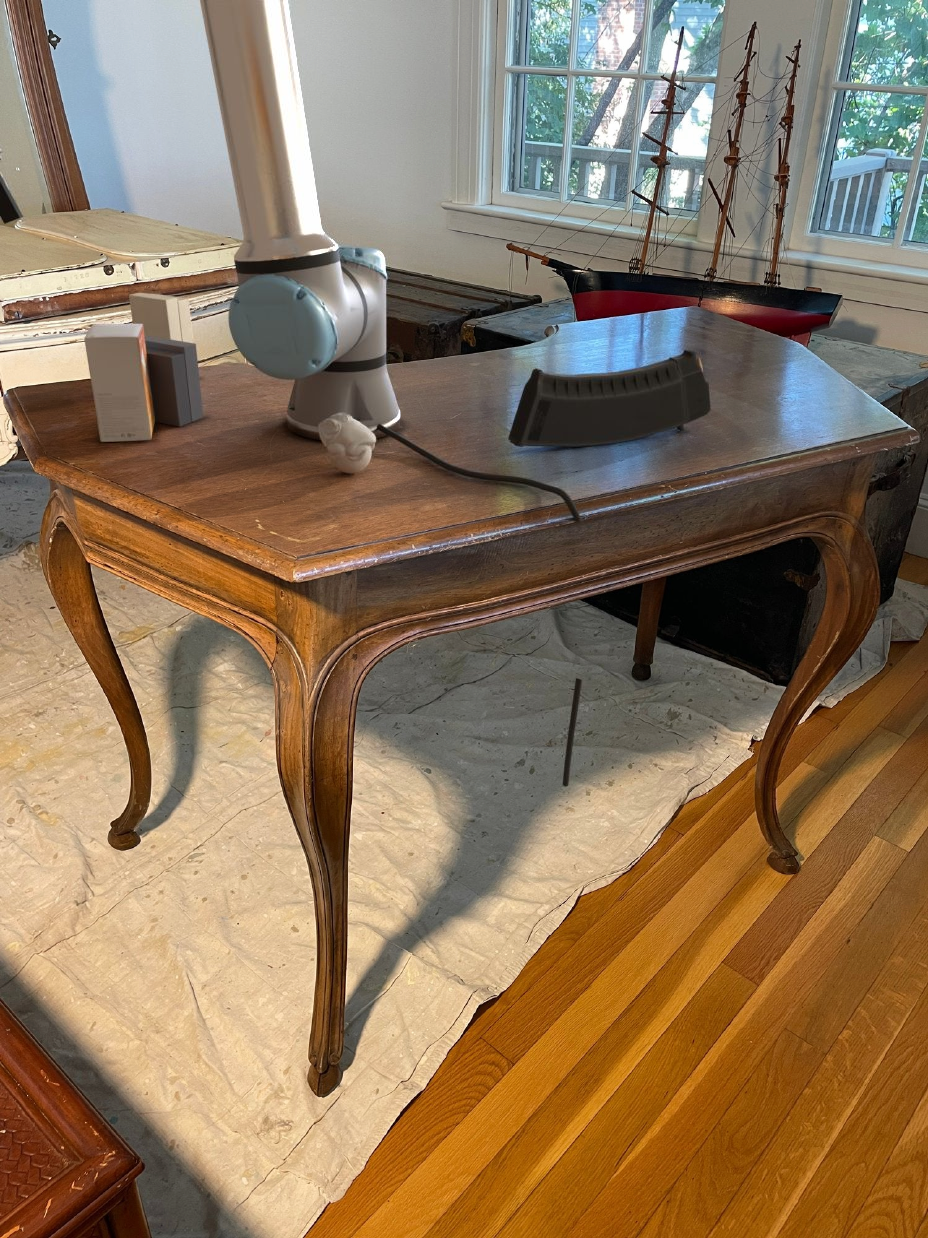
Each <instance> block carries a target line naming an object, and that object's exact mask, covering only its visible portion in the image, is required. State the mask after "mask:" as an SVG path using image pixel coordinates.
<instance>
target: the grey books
mask: <svg viewBox="0 0 928 1238" xmlns="http://www.w3.org/2000/svg"><path fill="white" fill-rule="evenodd" d="M145 345H146V353H147V361H148V369H149V377H150V385H151V393H152V400H153V408H154V415H155V423H158V424H159V423H160V424H164V425H170V426H174V427H183V426H185V425H189V424H190V423H194V422H196V421H198V420H202V419H203V418H205V417H204V408H203V407H204V406H203V399H202V389H201V381H200V379H201V378H200V371H199V370H200V369H199V361H198V352H197V351H198V350H197V343H195V342H193V343H189V342H183V341H177V340H171V339H165V338H159V337H153V336H147V337H145Z"/></svg>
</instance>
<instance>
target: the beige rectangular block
mask: <svg viewBox="0 0 928 1238" xmlns="http://www.w3.org/2000/svg"><path fill="white" fill-rule="evenodd" d="M128 298H129V299H128V300H129V305H130V314H131V320H132V324H143V328H144V337H147V336H153V337H159V338H165V339H171V340H177V341H183V342H189V343H194V337H193V325H192V317H191V308H190V300H189V299H190V298H186V297H179V296H171V295H165V294H164V295H163V294H159V293H147V292H136V293H131V294H129V295H128Z"/></svg>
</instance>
